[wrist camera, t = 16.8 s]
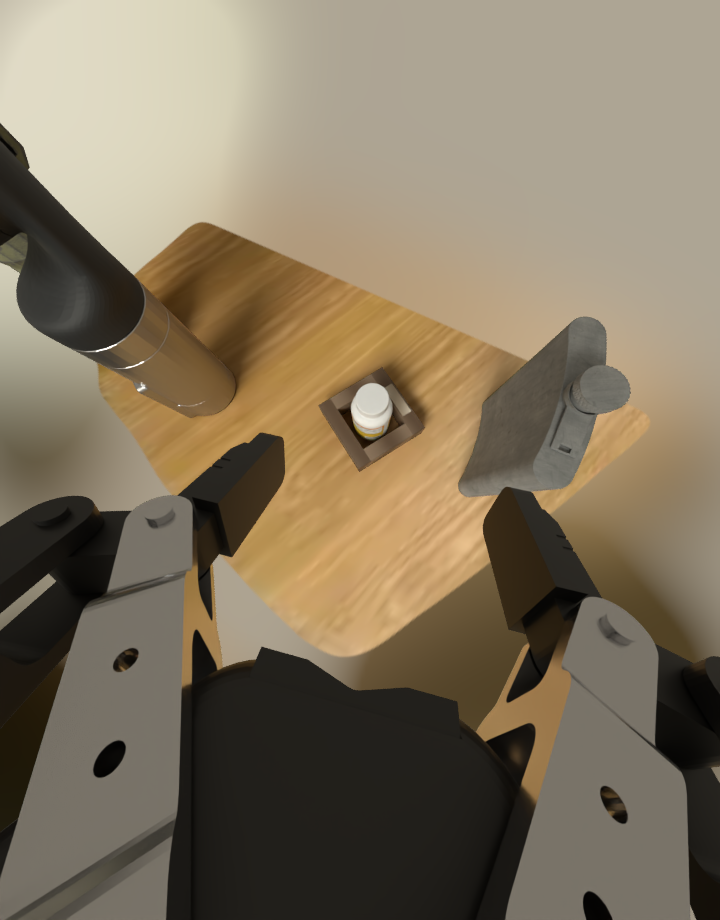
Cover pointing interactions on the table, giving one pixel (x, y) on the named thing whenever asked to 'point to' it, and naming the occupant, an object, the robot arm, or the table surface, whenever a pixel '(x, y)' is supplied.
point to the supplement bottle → (371, 411)
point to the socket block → (386, 444)
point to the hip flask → (545, 415)
